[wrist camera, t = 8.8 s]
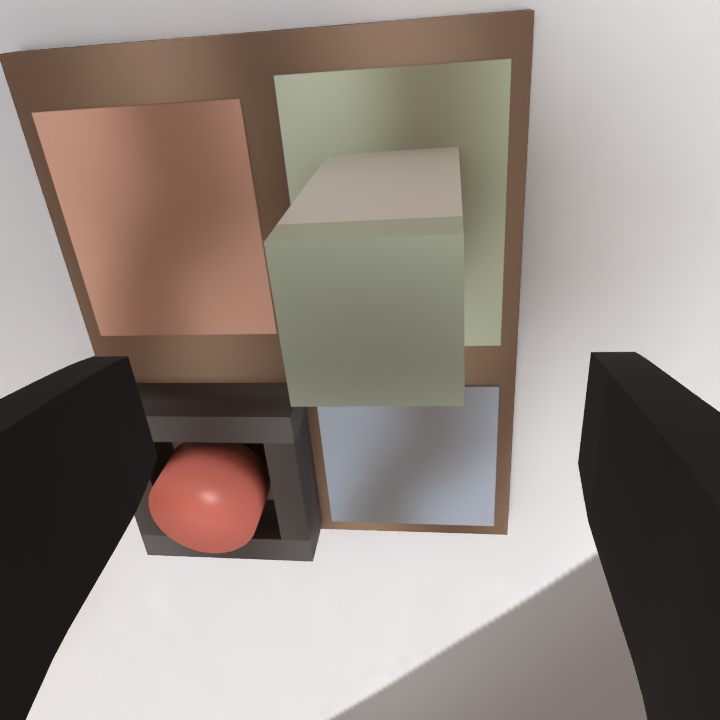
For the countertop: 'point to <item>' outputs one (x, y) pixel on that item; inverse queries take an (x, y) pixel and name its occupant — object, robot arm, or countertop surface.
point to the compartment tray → (248, 259)
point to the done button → (210, 496)
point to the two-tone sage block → (373, 282)
